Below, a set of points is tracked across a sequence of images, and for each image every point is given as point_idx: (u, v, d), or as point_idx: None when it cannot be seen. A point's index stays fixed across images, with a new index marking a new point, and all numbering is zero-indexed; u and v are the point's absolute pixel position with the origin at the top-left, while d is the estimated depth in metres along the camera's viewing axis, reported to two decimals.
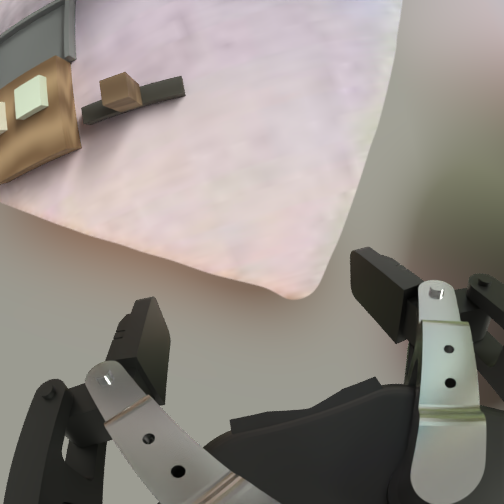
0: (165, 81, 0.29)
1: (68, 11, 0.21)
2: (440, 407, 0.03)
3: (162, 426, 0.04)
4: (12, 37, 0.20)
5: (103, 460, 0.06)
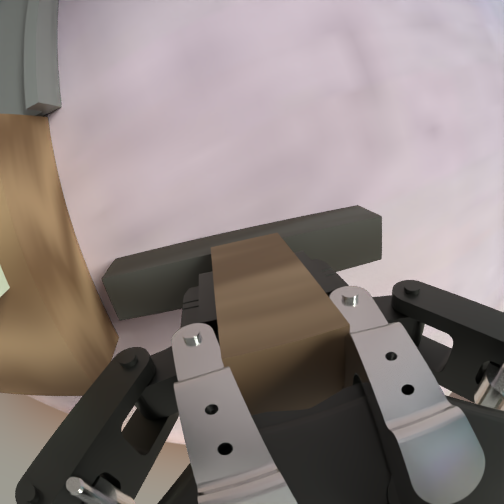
0: (346, 229, 0.13)
1: None
2: (440, 407, 0.03)
3: (229, 401, 0.04)
4: None
5: (166, 436, 0.06)
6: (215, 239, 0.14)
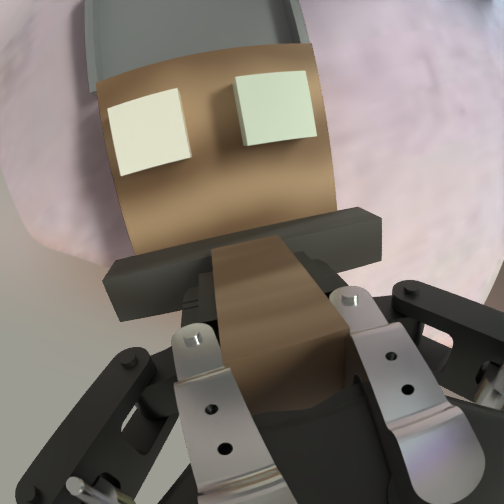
0: (346, 230, 0.13)
1: None
2: (440, 407, 0.03)
3: (229, 401, 0.04)
4: None
5: (166, 437, 0.06)
6: (215, 241, 0.14)
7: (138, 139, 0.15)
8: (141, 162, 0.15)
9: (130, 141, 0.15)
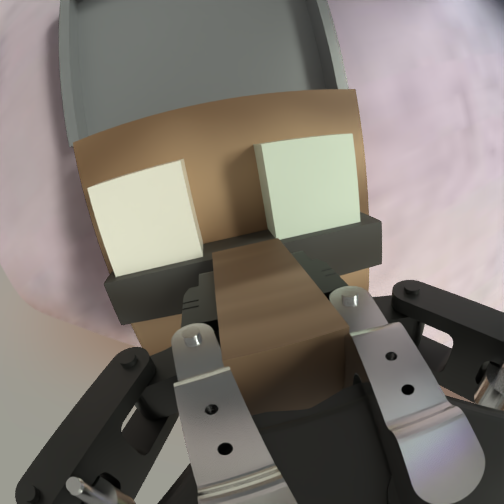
0: (346, 234, 0.13)
1: None
2: (440, 407, 0.03)
3: (229, 401, 0.04)
4: None
5: (166, 436, 0.06)
6: (216, 245, 0.14)
7: (132, 232, 0.12)
8: (140, 261, 0.13)
9: (122, 234, 0.12)
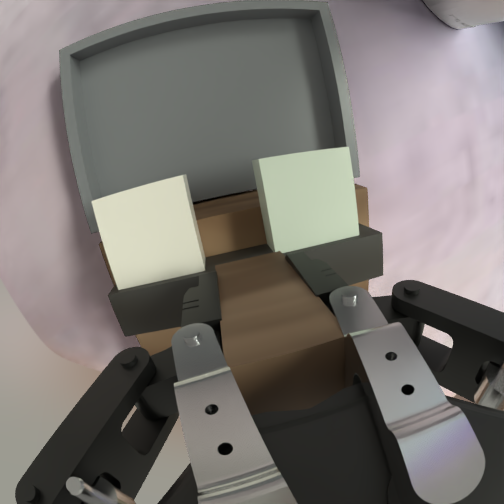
0: (348, 246, 0.13)
1: (338, 52, 0.14)
2: (440, 407, 0.03)
3: (229, 401, 0.04)
4: (142, 44, 0.13)
5: (166, 436, 0.06)
6: (219, 258, 0.14)
7: (136, 246, 0.12)
8: (142, 275, 0.13)
9: (125, 247, 0.12)
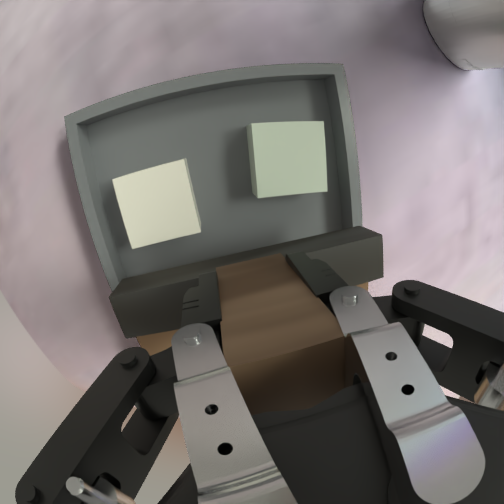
0: (348, 248, 0.13)
1: (351, 123, 0.16)
2: (440, 407, 0.03)
3: (229, 401, 0.04)
4: (151, 111, 0.15)
5: (166, 436, 0.06)
6: (220, 260, 0.14)
7: None
8: None
9: None
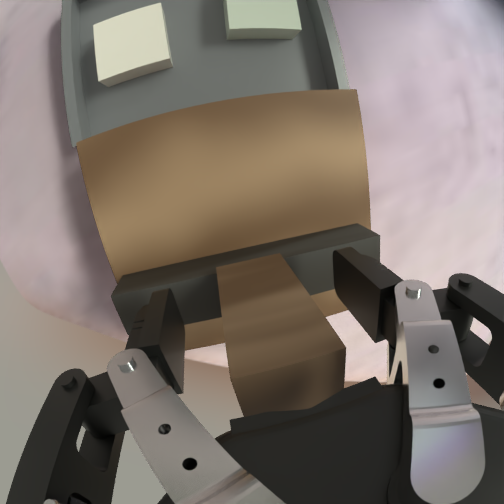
0: None
1: None
2: (440, 407, 0.03)
3: (179, 417, 0.04)
4: None
5: (119, 452, 0.06)
6: (220, 258, 0.15)
7: None
8: None
9: None
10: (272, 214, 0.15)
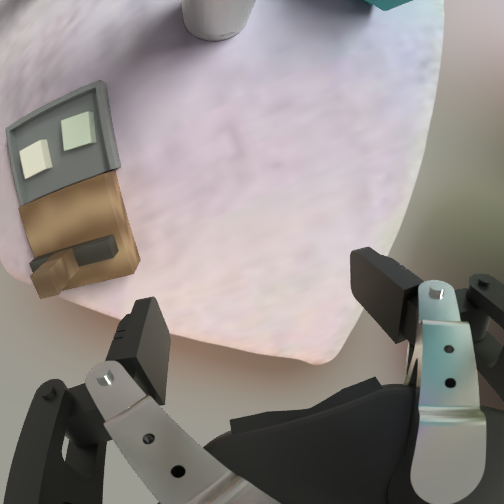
0: (94, 246, 0.31)
1: (103, 107, 0.29)
2: (440, 407, 0.03)
3: (162, 426, 0.04)
4: (35, 122, 0.29)
5: (103, 460, 0.06)
6: (62, 249, 0.32)
7: None
8: None
9: None
10: (78, 232, 0.32)
